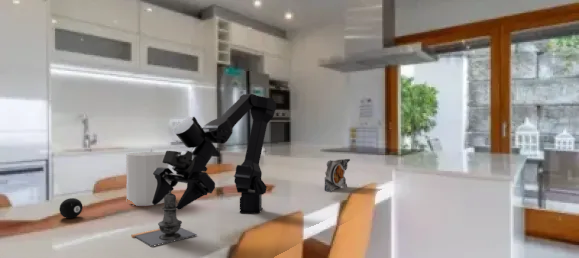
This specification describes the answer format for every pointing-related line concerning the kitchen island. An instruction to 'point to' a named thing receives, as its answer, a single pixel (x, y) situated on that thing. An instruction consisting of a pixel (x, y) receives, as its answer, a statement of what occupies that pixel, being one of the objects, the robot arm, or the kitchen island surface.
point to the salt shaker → (169, 219)
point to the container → (143, 176)
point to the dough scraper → (154, 235)
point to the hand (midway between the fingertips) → (165, 206)
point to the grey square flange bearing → (335, 174)
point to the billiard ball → (71, 208)
